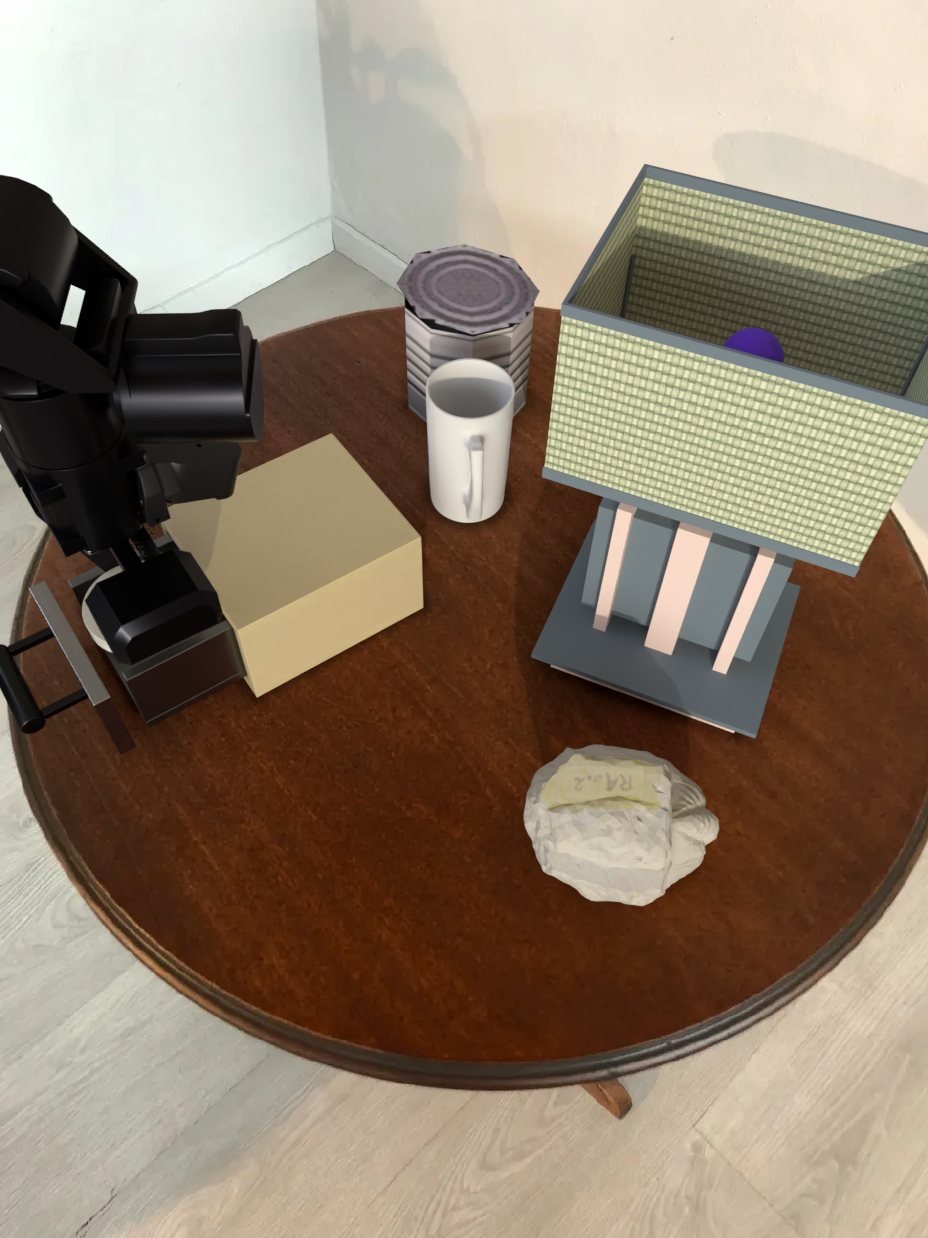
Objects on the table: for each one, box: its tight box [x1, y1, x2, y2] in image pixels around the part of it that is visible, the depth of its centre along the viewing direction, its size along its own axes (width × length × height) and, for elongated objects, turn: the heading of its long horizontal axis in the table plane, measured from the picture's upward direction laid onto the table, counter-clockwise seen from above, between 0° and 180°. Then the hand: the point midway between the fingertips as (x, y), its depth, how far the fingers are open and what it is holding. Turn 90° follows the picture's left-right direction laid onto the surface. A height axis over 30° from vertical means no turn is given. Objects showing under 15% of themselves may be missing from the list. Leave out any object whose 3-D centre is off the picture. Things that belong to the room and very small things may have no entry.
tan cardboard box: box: [160, 432, 424, 698], centre depth 76 cm, size 15×13×9 cm
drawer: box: [0, 533, 248, 755], centre depth 72 cm, size 18×11×7 cm, turn 125°
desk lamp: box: [530, 163, 928, 739], centre depth 65 cm, size 18×14×33 cm
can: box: [395, 243, 540, 424], centre depth 89 cm, size 11×11×12 cm
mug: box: [426, 358, 515, 524], centre depth 80 cm, size 10×7×12 cm, turn 5°
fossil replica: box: [523, 744, 720, 907], centre depth 65 cm, size 12×8×10 cm
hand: (138, 607), depth 65 cm, fingers closed on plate, 7 cm apart
